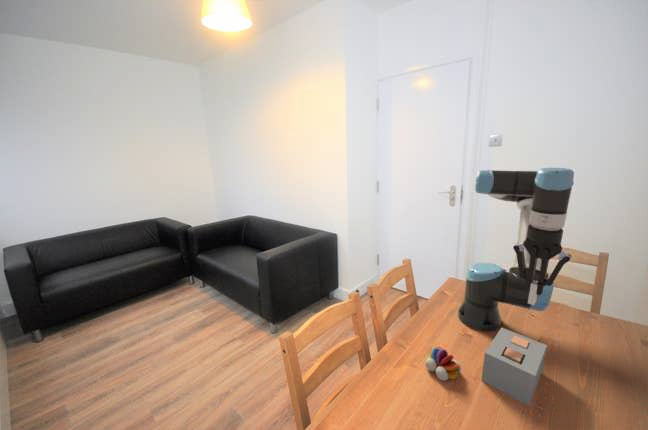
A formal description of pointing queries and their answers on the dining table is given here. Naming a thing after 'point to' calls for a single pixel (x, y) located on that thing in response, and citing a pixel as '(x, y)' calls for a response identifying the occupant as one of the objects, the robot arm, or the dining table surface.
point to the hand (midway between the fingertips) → (531, 302)
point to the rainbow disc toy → (443, 364)
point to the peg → (513, 355)
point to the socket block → (514, 365)
